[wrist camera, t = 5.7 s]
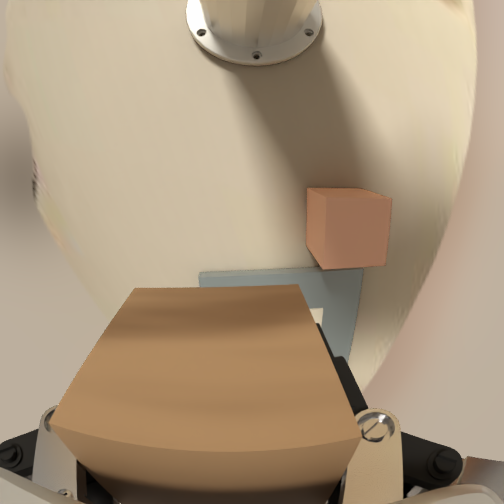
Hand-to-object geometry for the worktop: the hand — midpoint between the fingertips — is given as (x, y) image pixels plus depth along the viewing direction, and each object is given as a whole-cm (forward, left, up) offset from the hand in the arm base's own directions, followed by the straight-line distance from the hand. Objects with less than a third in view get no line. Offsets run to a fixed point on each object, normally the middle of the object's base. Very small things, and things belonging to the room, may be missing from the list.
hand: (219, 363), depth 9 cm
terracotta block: (-1, +10, -18) cm, 20 cm away
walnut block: (0, 0, -1) cm, 1 cm away
